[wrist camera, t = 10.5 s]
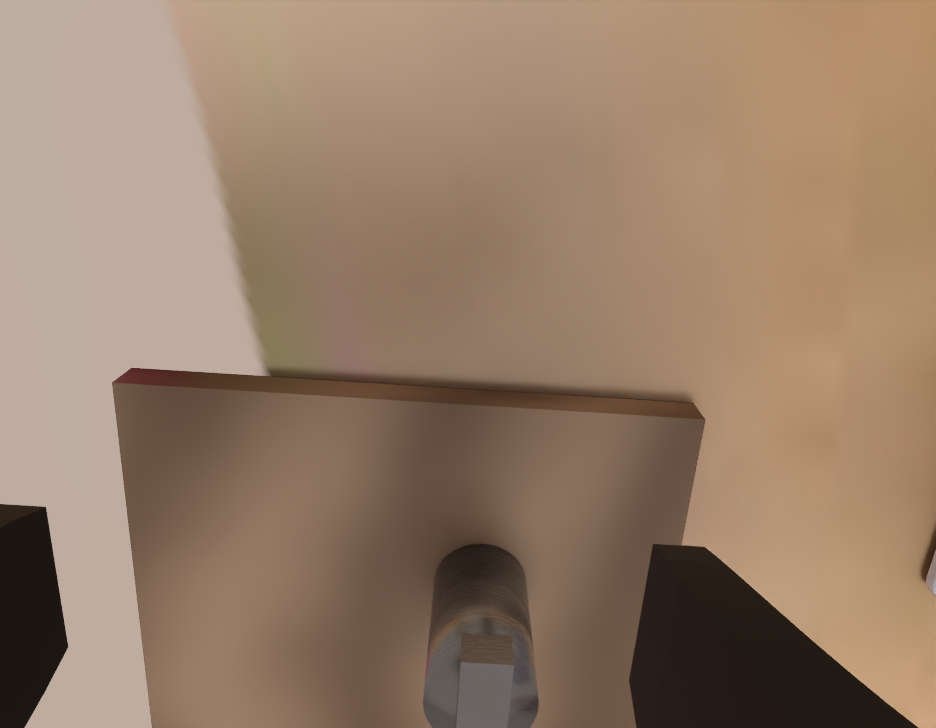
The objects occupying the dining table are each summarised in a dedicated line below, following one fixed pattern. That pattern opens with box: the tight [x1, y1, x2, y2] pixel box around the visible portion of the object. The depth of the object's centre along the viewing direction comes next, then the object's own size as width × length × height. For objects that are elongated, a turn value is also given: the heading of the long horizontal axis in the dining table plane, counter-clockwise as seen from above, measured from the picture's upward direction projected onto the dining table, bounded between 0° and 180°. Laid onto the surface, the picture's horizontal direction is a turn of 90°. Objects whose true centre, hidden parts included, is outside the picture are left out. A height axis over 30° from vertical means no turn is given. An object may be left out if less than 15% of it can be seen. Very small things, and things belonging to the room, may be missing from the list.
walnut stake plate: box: [112, 368, 705, 728], centre depth 19 cm, size 14×12×1 cm
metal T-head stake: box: [423, 544, 539, 728], centre depth 16 cm, size 2×4×5 cm, turn 177°
